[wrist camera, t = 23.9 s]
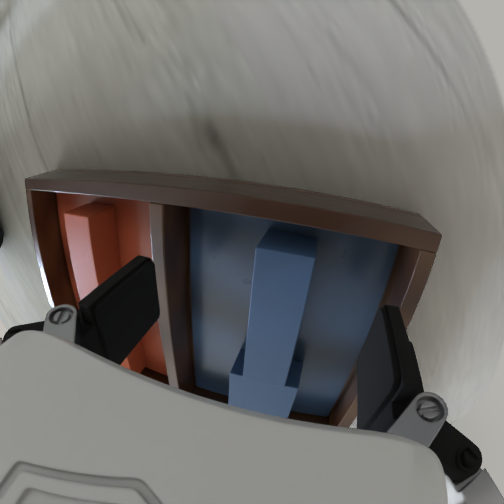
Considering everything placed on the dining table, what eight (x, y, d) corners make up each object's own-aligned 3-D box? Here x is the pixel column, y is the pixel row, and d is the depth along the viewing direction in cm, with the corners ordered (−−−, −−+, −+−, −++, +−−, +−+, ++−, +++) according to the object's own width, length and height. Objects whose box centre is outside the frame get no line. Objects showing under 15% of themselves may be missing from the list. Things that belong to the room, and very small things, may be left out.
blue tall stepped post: (251, 225, 13) (236, 243, 11) (334, 240, 13) (335, 262, 10) (236, 393, 19) (226, 418, 17) (288, 405, 18) (283, 431, 16)
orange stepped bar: (82, 201, 16) (56, 211, 13) (125, 206, 15) (97, 218, 13) (111, 347, 21) (95, 364, 19) (147, 363, 20) (133, 383, 18)
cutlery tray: (55, 169, 16) (24, 178, 14) (420, 214, 12) (442, 234, 9) (88, 339, 23) (70, 357, 20) (336, 417, 18) (333, 448, 16)
